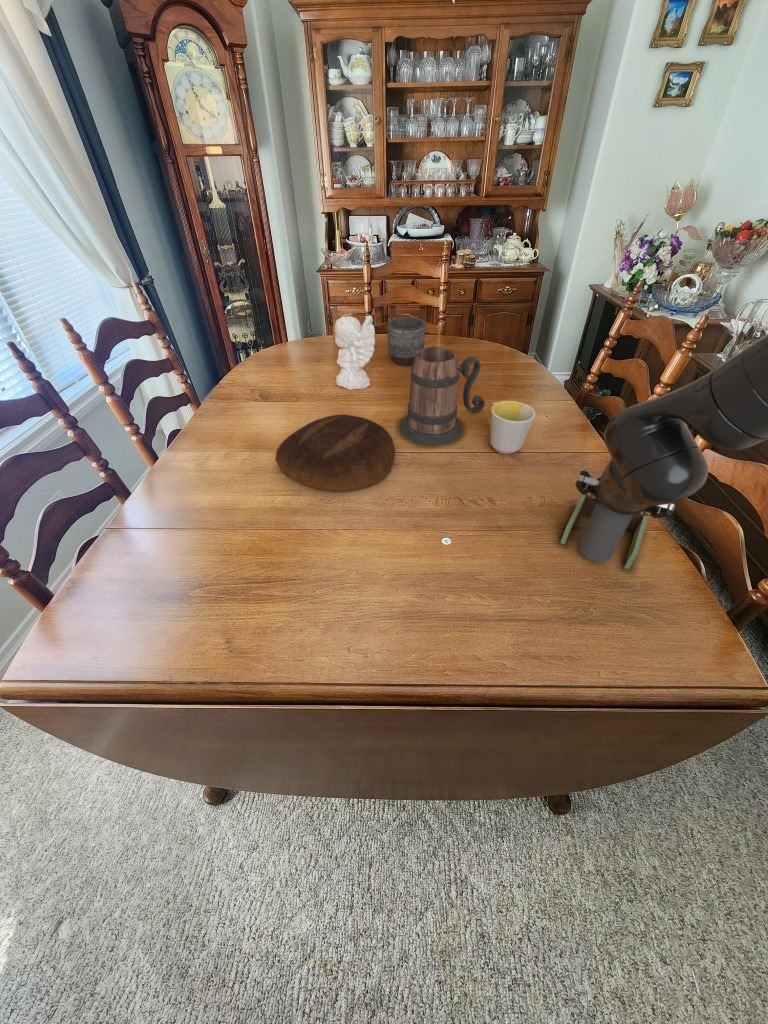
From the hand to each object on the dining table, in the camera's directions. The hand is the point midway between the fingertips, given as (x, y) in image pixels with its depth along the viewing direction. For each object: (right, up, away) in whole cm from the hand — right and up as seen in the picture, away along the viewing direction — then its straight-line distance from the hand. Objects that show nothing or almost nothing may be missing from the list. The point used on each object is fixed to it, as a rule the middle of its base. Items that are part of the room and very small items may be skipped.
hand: (617, 502), depth 73 cm
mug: (-10, +15, +35) cm, 40 cm away
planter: (-33, +50, +74) cm, 95 cm away
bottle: (-1, -9, +6) cm, 11 cm away
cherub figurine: (-49, +40, +63) cm, 89 cm away
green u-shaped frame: (+2, -7, +10) cm, 13 cm away
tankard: (-24, +22, +42) cm, 53 cm away
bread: (-51, +11, +30) cm, 61 cm away
